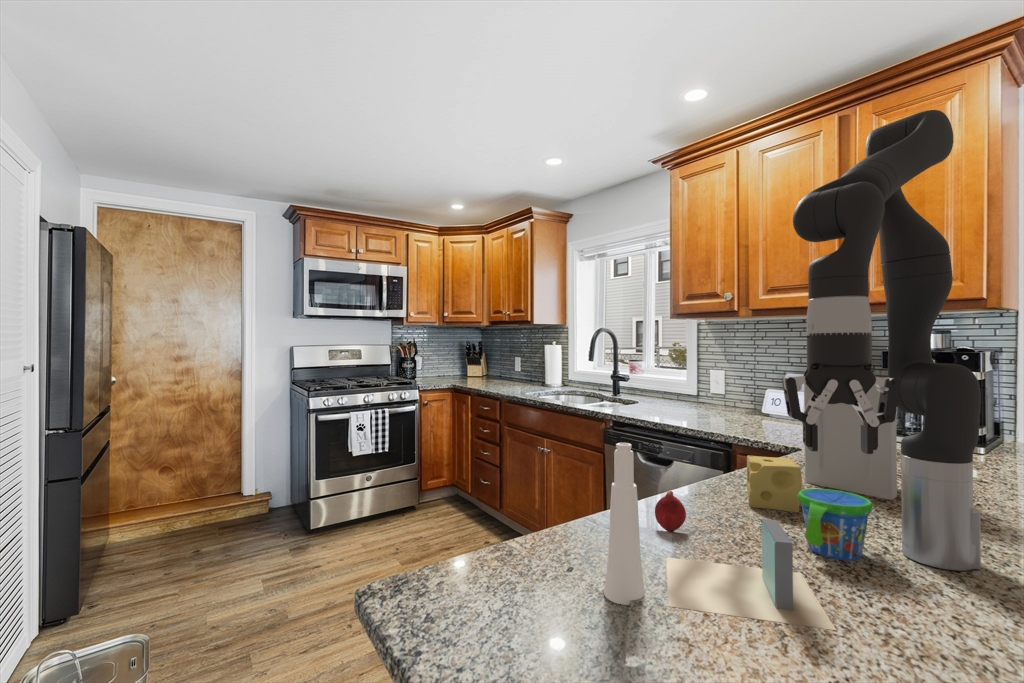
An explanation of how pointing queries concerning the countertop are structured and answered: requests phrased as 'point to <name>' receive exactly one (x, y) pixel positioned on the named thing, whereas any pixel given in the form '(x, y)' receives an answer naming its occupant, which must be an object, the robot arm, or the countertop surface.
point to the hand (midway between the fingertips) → (839, 451)
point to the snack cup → (835, 522)
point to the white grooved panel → (852, 452)
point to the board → (739, 593)
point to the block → (777, 564)
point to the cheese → (773, 483)
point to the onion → (670, 512)
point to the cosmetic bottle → (624, 533)
